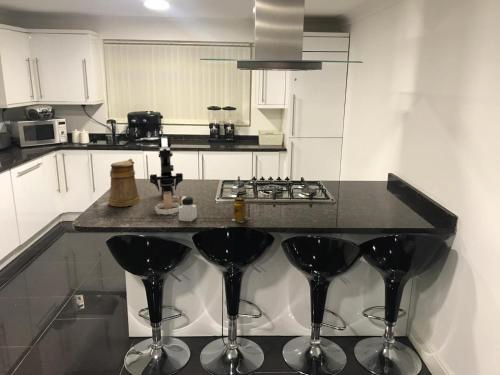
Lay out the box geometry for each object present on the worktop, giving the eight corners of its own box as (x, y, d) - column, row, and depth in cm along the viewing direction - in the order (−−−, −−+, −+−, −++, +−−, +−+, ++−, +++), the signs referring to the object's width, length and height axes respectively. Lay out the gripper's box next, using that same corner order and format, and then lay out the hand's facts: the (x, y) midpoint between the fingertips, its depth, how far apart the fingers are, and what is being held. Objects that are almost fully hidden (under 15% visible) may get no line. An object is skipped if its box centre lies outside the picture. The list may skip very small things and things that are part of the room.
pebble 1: (171, 201, 258) (171, 196, 257) (173, 199, 261) (173, 195, 260) (176, 201, 258) (175, 196, 257) (178, 200, 260) (177, 195, 260)
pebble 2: (174, 202, 256) (174, 197, 255) (176, 201, 258) (176, 196, 258) (179, 202, 255) (179, 198, 254) (181, 201, 258) (181, 196, 257)
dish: (152, 214, 238) (151, 208, 237) (162, 206, 250) (162, 202, 249) (174, 215, 235) (174, 210, 234) (183, 208, 247) (183, 203, 246)
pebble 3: (180, 201, 258) (180, 196, 257) (182, 199, 261) (182, 195, 260) (184, 201, 257) (184, 196, 256) (186, 200, 260) (186, 195, 259)
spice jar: (162, 210, 242) (161, 192, 239) (168, 208, 245) (167, 190, 242) (167, 211, 239) (166, 193, 236) (173, 209, 242) (172, 191, 240)
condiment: (230, 220, 228) (230, 198, 224) (241, 216, 234) (241, 195, 231) (241, 223, 223) (240, 201, 220) (251, 218, 229) (251, 197, 226)
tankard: (103, 207, 250) (99, 165, 243) (120, 196, 272) (117, 157, 266) (133, 208, 248) (129, 166, 241) (147, 197, 270) (145, 158, 264)
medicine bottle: (196, 217, 231) (196, 196, 228) (191, 221, 225) (190, 200, 222) (185, 216, 234) (184, 195, 231) (178, 220, 227) (177, 198, 224)
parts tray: (167, 203, 256) (167, 199, 255) (173, 200, 263) (173, 195, 263) (183, 204, 254) (183, 200, 253) (188, 201, 261) (188, 196, 260)
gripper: (148, 161, 243) (149, 184, 236) (181, 159, 247) (183, 183, 239) (150, 171, 253) (150, 194, 245) (181, 169, 256) (183, 192, 249)
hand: (167, 190), depth 244 cm, fingers open, 9 cm apart
